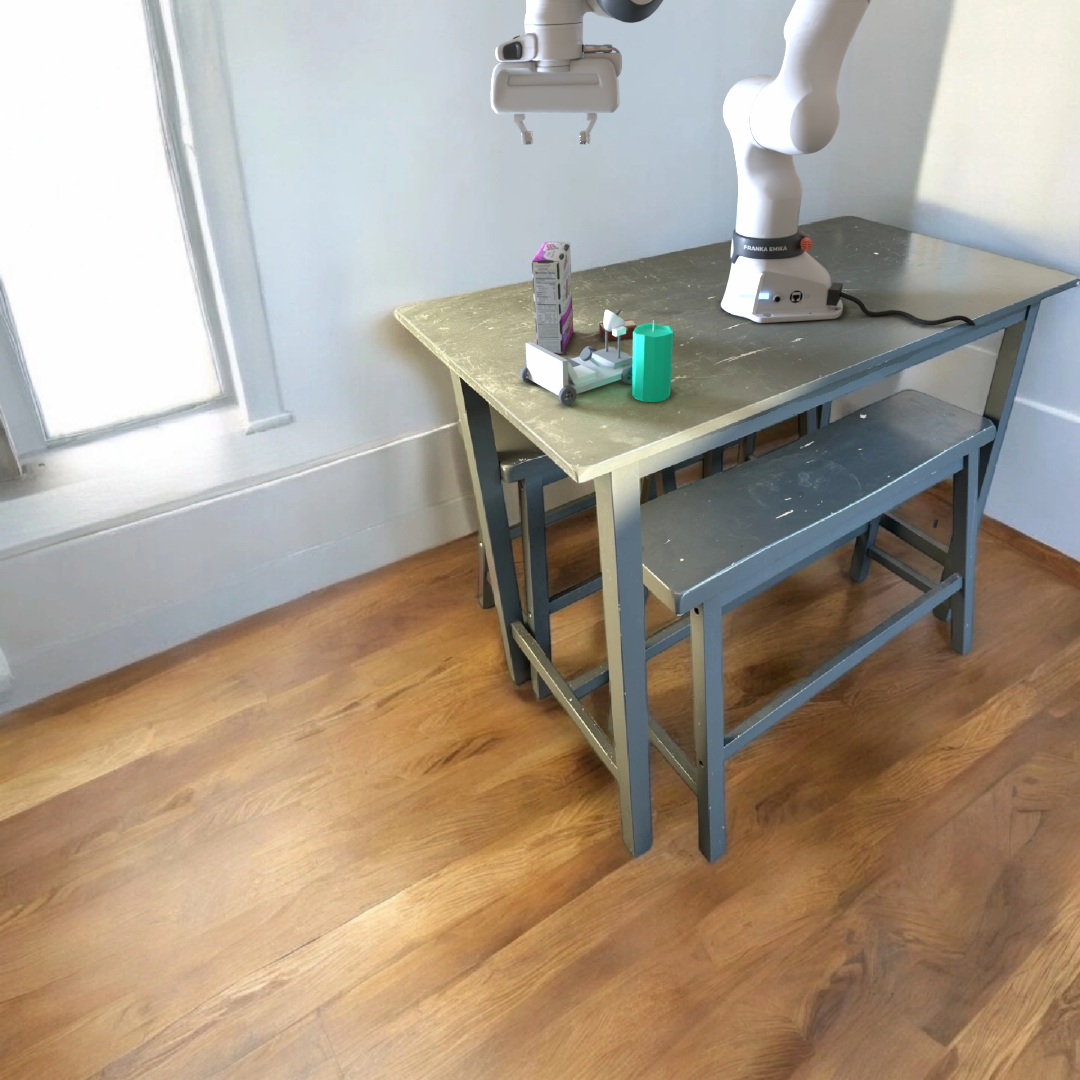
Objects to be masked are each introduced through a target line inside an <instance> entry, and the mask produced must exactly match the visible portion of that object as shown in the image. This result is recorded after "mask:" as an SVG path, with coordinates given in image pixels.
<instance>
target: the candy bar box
mask: <svg viewBox="0 0 1080 1080" xmlns="http://www.w3.org/2000/svg"><path fill="white" fill-rule="evenodd" d="M571 259H572V258H571V242H570V241H545V242H543V243H542V245H541V247H540V248H539V250H537V252H536V254H535V255H534V257H533V258H532V260H531V273H532V274H531V275H532V287H533V289H532V290H533V291H532V292H533V304H534V306H533V307H534V318H535V319H534V321H535V336H536V337H535V338H536V344H537V345H539V346H541V347H543V348H545V349H547V350H549V351H551V352H553V353H555V354H556V355H563V354H564V353H565V351H566V349H567V346H568V343H569V342H570V339H571V337H572V335H573V333H574V314H573V313H574V311H573V290H572V289H573V287H572V260H571Z"/></svg>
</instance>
